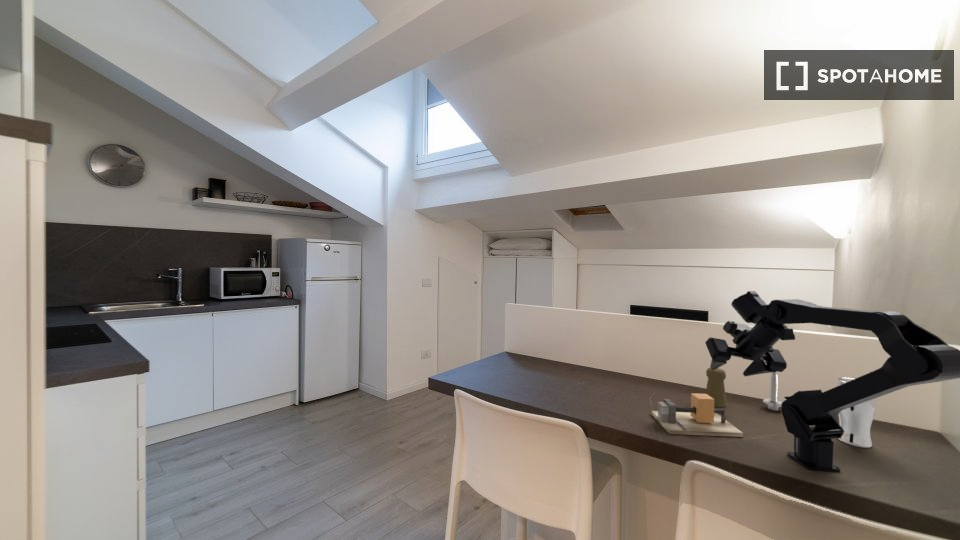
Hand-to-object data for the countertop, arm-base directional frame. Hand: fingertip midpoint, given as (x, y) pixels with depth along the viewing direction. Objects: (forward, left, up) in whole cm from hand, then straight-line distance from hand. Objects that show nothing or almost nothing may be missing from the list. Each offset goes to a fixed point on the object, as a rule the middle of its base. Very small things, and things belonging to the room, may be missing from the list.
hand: (727, 371), depth 103 cm
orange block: (-5, +9, -12) cm, 16 cm away
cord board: (-5, +11, -13) cm, 18 cm away
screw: (+8, -18, -13) cm, 24 cm away
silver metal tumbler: (-11, -24, -14) cm, 30 cm away
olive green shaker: (+11, -3, -14) cm, 18 cm away
